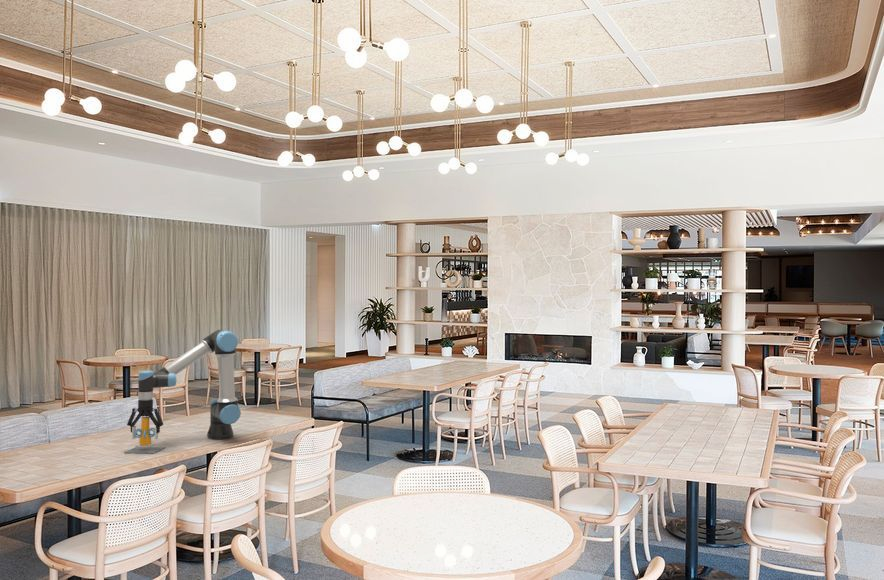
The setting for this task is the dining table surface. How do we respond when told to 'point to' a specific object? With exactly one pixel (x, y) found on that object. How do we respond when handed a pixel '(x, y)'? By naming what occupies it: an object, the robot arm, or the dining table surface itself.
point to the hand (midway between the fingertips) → (145, 438)
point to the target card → (144, 450)
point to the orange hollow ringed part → (145, 432)
